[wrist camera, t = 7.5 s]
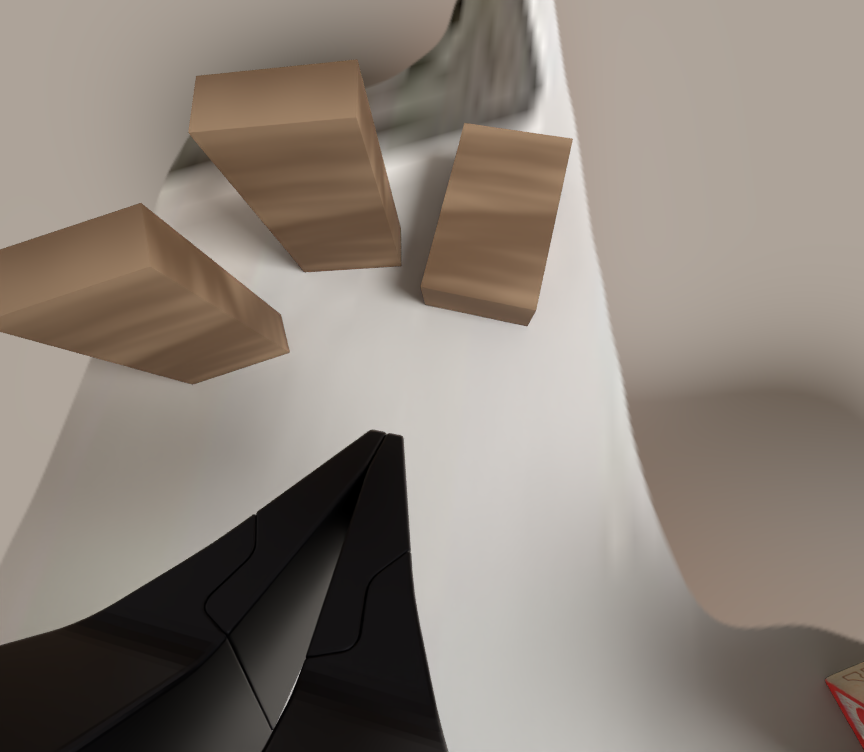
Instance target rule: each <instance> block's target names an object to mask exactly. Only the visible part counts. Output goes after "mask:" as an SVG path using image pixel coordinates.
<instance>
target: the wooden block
mask: <svg viewBox="0 0 864 752" xmlns="http://www.w3.org/2000/svg"><path fill="white" fill-rule="evenodd" d="M572 140H573V139H570V138H564V137H557V136H550V135H543V134H536V133H529V132H522V131H515V130H508V129H501V128H494V127H487V126H481V125H474V124H467V123H464V127H463V131H462V134H461V138H460V142H459V145H458V149H457V153H456V157H455V160H454V164H453V168H452V171H451V175H450V179H449V183H448V186H447V190H446V194H445V197H444V201H443V205H442V209H441V212H440V216H439V220H438V223H437V227H436V231H435V235H434V238H433V242H432V246H431V249H430V253H429V257H428V261H427V264H426V268H425V272H424V275H423V279H422V283H421V291H422V295H423V298H424V302H425V305H429V306H434V307H438V308H443V309H448V310H453V311H458V312H462V313H467V314H472V315H477V316H482V317H486V318H491V319H496V320H501V321H505V322H510V323H515V324H520V325H525V326H528V324H529V322H530V320H531V319H532V317H533V315H534V313H535V311H536V308H537V303H538V299H539V294H540V289H541V285H542V280H543V275H544V271H545V266H546V261H547V257H548V252H549V247H550V243H551V238H552V233H553V229H554V224H555V219H556V215H557V210H558V205H559V201H560V196H561V191H562V187H563V182H564V177H565V173H566V168H567V163H568V159H569V154H570V149H571V145H572Z"/></svg>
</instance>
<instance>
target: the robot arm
mask: <svg viewBox="0 0 864 752" xmlns="http://www.w3.org/2000/svg"><path fill="white" fill-rule="evenodd" d="M410 552H411V545H410V530H409V515H408V499H407V484H406V469H405V453H404V439H403V436H401V435H397V434H392V433H388V434H386V433H385V432H382V431H377V430H370V431H368V432H367V433H365V434H364V435H363V436H361V437H360V438H358V439H357V440H356V441H354V442H353V443H351V444H350V445H349V446H347V447H346V448H345V449H343V450H342V451H340V452H339V453H338V454H336V455H335V456H334V457H332V458H331V459H329V460H328V461H327V462H325V463H324V464H322V465H321V466H320V467H318V468H317V469H316V470H314V471H313V472H311V473H310V474H309V475H307V476H306V477H305V478H303V479H302V480H300V481H299V482H298V483H296V484H295V485H293V486H292V487H291V488H289V489H288V490H287V491H285V492H284V493H282V494H281V495H280V496H278V497H277V498H276V499H274V500H273V501H271V502H270V503H269V504H267V505H266V506H265V507H263V508H262V509H260V510H259V511H258V512H257V513H256V515H255V514H253V515H252V516H250V517H249V518H248V519H246V520H245V521H244V522H242V523H241V524H239V525H238V526H237V527H235V528H234V529H232V530H231V531H229V532H228V533H226V534H225V535H224V536H222V537H221V538H219V539H218V540H216V541H215V542H213V543H212V544H210V545H209V546H207V547H205V548H204V549H202V550H201V551H199V552H198V553H196V554H194V555H193V556H191V557H190V558H188V559H186V560H185V561H183V562H182V563H180V564H178V565H177V566H175V567H173V568H172V569H170V570H168V571H167V572H165V573H163V574H162V575H160V576H158V577H157V578H155V579H154V580H152V581H150V582H149V583H147V584H145V585H144V586H142V587H140V588H139V589H137V590H135V591H134V592H132V593H130V594H129V595H127V596H125V597H124V598H122V599H121V600H119V601H117V602H116V603H114V604H112V605H110V606H109V607H107V608H105V609H103V610H101V611H100V612H98V613H96V614H94V615H92V616H90V617H87V618H85V619H83V620H81V621H78V622H76V623H74V624H71V625H68V626H66V627H63V628H60V629H57V630H54V631H50V632H47V633H43V634H39V635H36V636H32V637H29V638H25V639H21V640H18V641H14V642H10V643H7V644H3V645H0V752H448V749H447V745H446V742H445V738H444V735H443V731H442V727H441V723H440V719H439V714H438V710H437V706H436V701H435V696H434V691H433V686H432V682H431V677H430V672H429V667H428V662H427V657H426V652H425V647H424V642H423V637H422V632H421V627H420V622H419V617H418V611H417V605H416V599H415V592H414V582H413V572H412V558H411V553H410ZM305 658H306V659H305ZM302 665H303V666H302ZM301 667H302V669H301ZM300 670H301V672H300ZM299 672H300V674H299ZM298 674H299V677H298V680H297V682H296V685H295V687H294V690H293V692H292V694H291V697H290V699H289V701H288V703H287V705H286V707H285V709H284V711H283V713H282V715H281V716H280V714H281V712H282V710H283V707H284V705H285V703H286V701H287V698H288V696H289V694H290V692H291V690H292V687H293V685H294V683H295V681H296V678H297V676H298ZM279 716H280V718H279ZM278 718H279V720H278ZM277 721H278V722H277ZM276 723H277V724H276ZM275 725H276V726H275ZM271 730H273V731H271Z"/></svg>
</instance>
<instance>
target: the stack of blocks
mask: <svg viewBox="0 0 864 752" xmlns="http://www.w3.org/2000/svg"><path fill="white" fill-rule="evenodd" d="M825 681H826V684H827V685H828V687H829V689H830V691H831V692H832V694H833V696H834V698H835V700H836V701H837V703H838V705H839V707H840V708H841V710H842V712H843V714H844V716H845V717H846V719H847V721H848V723H849V724H850V726H851V728H852V730H853V731H854V733H855V735H856V737H857V738H858V740H859V742H860V744H861V745H862V747H863V749H864V662H862V663H860V664H857V665H855V666H852V667H850V668H848V669H845V670H843V671H840V672H838V673H836V674H833V675H831V676H829V677H827V678H826V679H825Z"/></svg>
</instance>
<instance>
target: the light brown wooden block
mask: <svg viewBox="0 0 864 752" xmlns="http://www.w3.org/2000/svg"><path fill="white" fill-rule="evenodd" d="M189 134H190V135H191V136H192V138H193V139H194V140H195V141H196V142H197V144H198V145H199V146H200V147H201V148H202V150H203V151H204V152H205V153H206V154H207V156H208V157H209V158H210V159H211V160H212V162H213V163H214V164H215V165H216V166H217V168H218V169H219V170H220V171H221V172H222V174H223V175H224V176H225V177H226V178H227V180H228V181H229V182H230V183H231V184H232V186H233V187H234V188H235V189H236V190H237V192H238V193H239V194H240V195H241V196H242V198H243V199H244V200H245V201H246V202H247V204H248V205H249V206H250V207H251V208H252V210H253V211H254V212H255V213H256V214H257V216H258V217H259V218H260V219H261V220H262V222H263V223H264V224H265V225H266V226H267V228H268V229H269V230H270V231H271V232H272V234H273V235H274V236H275V237H276V238H277V240H278V241H279V242H280V243H281V244H282V246H283V247H284V248H285V249H286V250H287V252H288V253H289V254H290V255H291V256H292V258H293V259H294V260H295V261H296V262H297V264H298V265H299V266H300V267H301V268H302V270H303V271H304V272H317V271H332V270H348V269H363V268H378V267H394V266H401V228H400V224H399V220H398V216H397V212H396V208H395V204H394V200H393V196H392V192H391V189H390V185H389V181H388V177H387V173H386V169H385V165H384V161H383V157H382V153H381V150H380V146H379V142H378V138H377V134H376V130H375V126H374V122H373V118H372V114H371V111H370V107H369V103H368V99H367V95H366V91H365V87H364V84H363V79H362V76H361V72H360V68H359V64H358V60H348V61H338V62H329V63H319V64H309V65H299V66H290V67H280V68H270V69H260V70H251V71H240V72H231V73H221V74H211V75H201V76H196V81H195V89H194V95H193V103H192V110H191V118H190V125H189Z"/></svg>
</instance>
